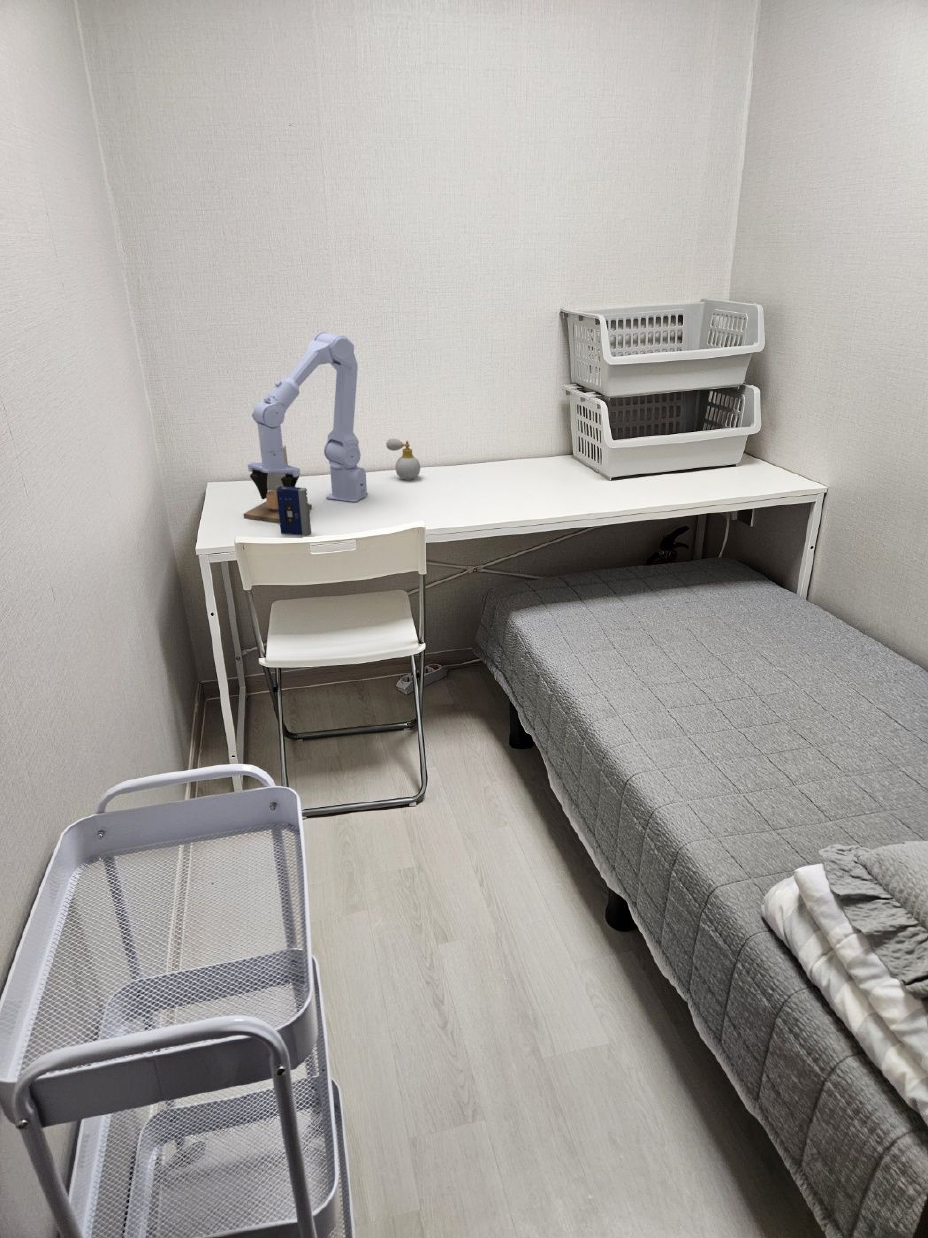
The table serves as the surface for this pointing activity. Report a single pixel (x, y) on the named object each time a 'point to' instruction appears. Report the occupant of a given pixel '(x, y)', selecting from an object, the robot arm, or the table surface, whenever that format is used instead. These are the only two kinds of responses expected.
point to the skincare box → (276, 475)
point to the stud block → (265, 513)
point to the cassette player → (293, 510)
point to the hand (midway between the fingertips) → (277, 499)
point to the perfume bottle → (404, 460)
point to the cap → (272, 499)
